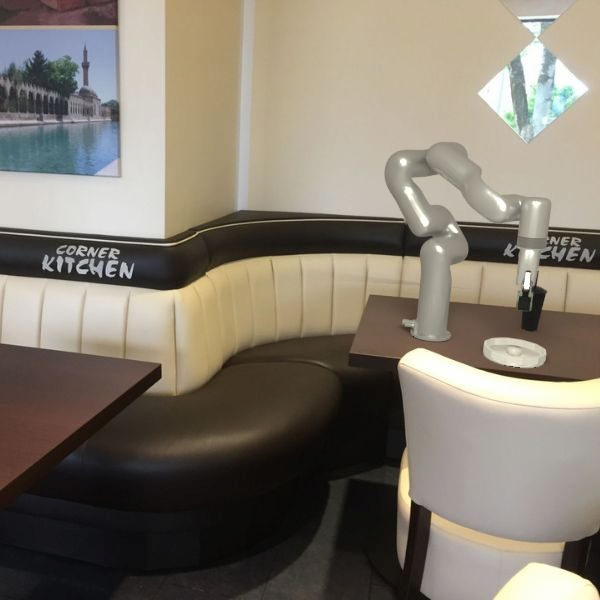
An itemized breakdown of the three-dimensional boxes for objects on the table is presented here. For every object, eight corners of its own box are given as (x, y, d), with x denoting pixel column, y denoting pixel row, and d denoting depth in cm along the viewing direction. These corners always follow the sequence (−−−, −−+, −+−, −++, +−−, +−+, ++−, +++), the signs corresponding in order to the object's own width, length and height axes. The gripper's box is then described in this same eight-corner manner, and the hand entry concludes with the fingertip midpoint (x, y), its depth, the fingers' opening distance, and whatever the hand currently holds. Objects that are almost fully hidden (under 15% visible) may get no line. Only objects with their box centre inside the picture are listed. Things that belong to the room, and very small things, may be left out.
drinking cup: (520, 323, 206) (529, 267, 200) (543, 328, 202) (552, 270, 196) (514, 329, 200) (522, 270, 194) (537, 334, 196) (547, 274, 190)
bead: (515, 310, 166) (517, 292, 165) (516, 306, 170) (518, 289, 168) (531, 312, 165) (533, 294, 163) (531, 308, 168) (533, 291, 167)
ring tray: (481, 362, 169) (482, 352, 168) (484, 343, 184) (485, 334, 183) (545, 372, 164) (547, 361, 163) (543, 352, 179) (544, 342, 178)
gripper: (517, 238, 171) (510, 299, 176) (516, 246, 156) (508, 314, 161) (546, 240, 169) (537, 302, 173) (546, 249, 154) (538, 317, 158)
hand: (523, 307), depth 167 cm, fingers closed on bead, 4 cm apart
